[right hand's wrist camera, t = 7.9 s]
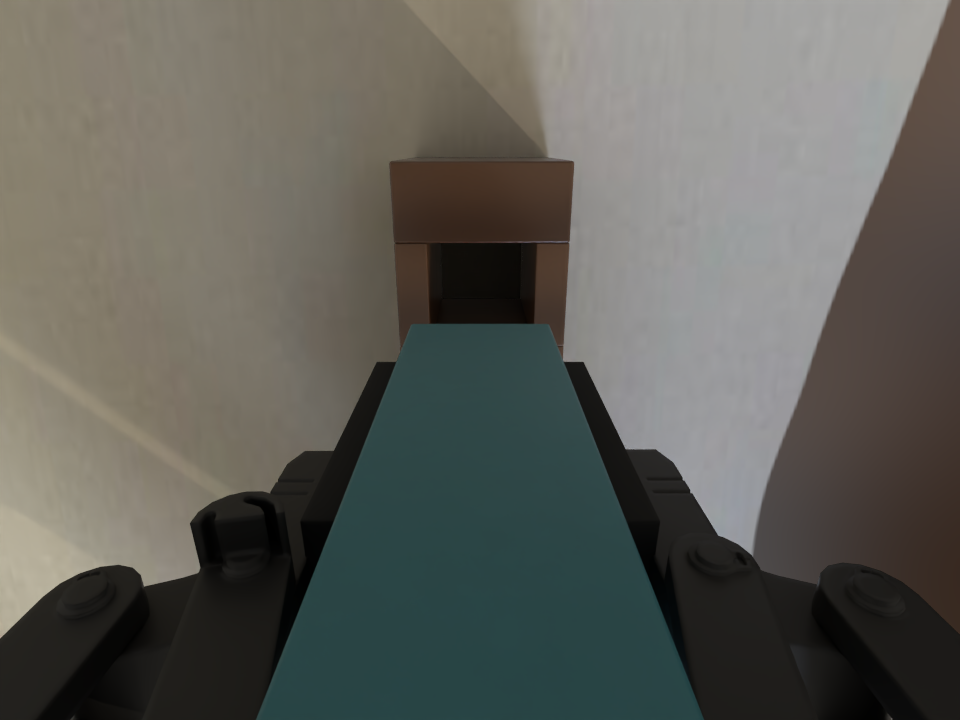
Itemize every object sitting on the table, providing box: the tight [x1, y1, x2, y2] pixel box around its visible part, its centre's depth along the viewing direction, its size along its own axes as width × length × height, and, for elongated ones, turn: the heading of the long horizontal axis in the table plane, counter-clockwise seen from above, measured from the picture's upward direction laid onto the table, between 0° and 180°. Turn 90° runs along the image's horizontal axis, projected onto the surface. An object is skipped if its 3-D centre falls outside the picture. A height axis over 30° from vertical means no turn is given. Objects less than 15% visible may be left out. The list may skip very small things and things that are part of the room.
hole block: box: [389, 158, 574, 359], centre depth 32 cm, size 28×8×9 cm, turn 0°
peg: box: [256, 324, 704, 720], centre depth 10 cm, size 4×4×14 cm
